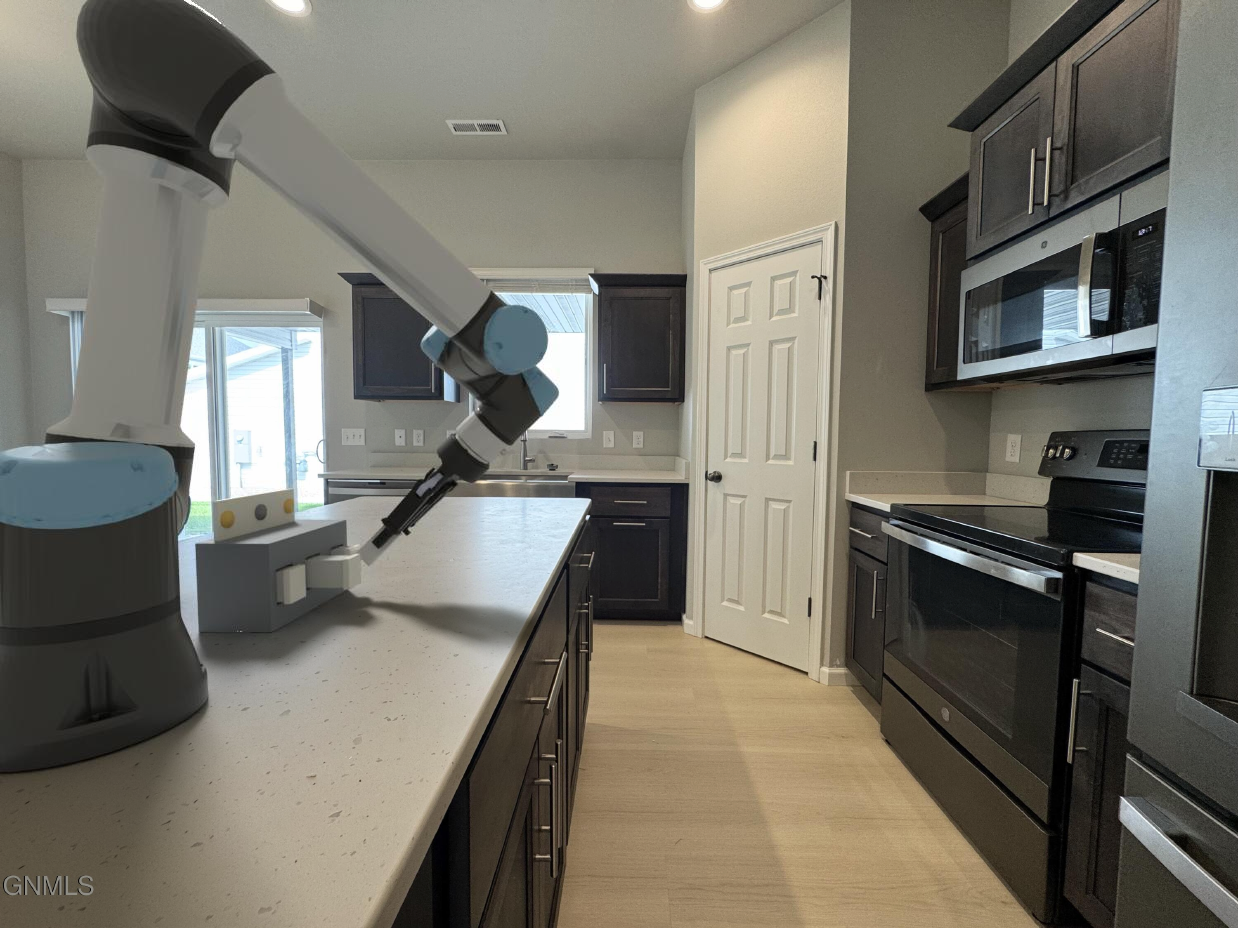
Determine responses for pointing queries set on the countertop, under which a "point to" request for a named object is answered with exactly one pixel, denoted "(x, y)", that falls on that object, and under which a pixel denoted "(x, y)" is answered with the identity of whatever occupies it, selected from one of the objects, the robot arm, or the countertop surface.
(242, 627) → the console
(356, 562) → the button middle
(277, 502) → the pattern sign
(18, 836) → the countertop surface
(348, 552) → the button far
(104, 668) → the robot arm
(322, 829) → the countertop surface
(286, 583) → the button near
